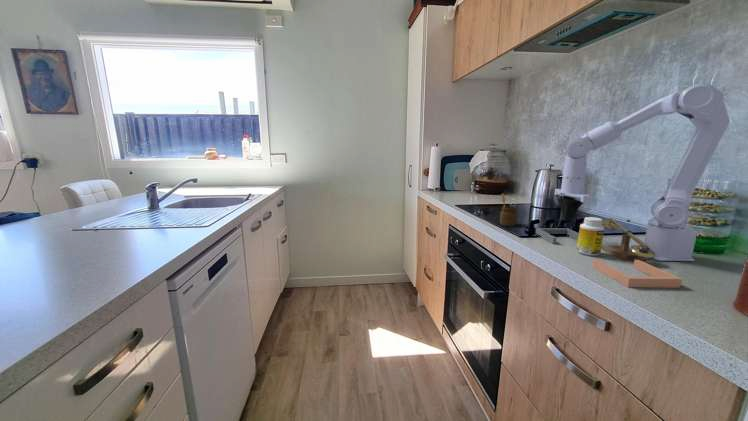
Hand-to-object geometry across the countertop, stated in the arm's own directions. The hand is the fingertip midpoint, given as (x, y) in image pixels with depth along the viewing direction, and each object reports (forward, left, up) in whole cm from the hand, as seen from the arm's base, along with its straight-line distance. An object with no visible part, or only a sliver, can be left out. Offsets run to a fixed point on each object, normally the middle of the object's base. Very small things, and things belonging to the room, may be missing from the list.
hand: (567, 220), depth 93 cm
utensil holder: (+10, -21, -7) cm, 24 cm away
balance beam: (-9, +11, -2) cm, 15 cm away
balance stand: (-9, +12, -7) cm, 17 cm away
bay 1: (0, -2, -7) cm, 7 cm away
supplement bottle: (0, +11, -7) cm, 13 cm away
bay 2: (0, +26, -7) cm, 27 cm away
